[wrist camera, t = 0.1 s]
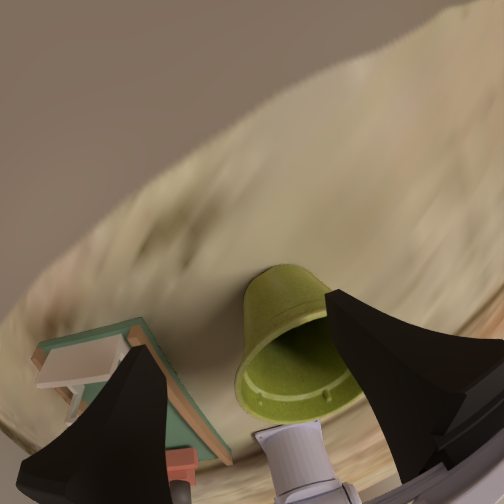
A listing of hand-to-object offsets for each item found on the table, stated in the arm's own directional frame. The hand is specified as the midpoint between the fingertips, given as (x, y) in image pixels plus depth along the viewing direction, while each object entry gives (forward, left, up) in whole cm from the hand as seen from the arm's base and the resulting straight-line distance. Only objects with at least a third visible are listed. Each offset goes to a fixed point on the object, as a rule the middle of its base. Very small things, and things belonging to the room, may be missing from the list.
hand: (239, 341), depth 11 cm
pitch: (-15, +14, -10) cm, 23 cm away
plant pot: (-6, -3, -10) cm, 12 cm away
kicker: (-24, +14, -9) cm, 29 cm away
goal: (-7, +14, -9) cm, 18 cm away
